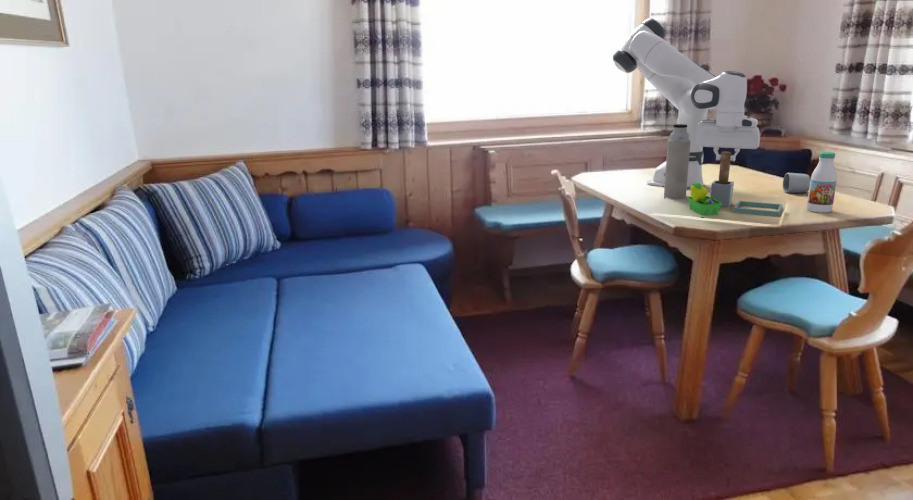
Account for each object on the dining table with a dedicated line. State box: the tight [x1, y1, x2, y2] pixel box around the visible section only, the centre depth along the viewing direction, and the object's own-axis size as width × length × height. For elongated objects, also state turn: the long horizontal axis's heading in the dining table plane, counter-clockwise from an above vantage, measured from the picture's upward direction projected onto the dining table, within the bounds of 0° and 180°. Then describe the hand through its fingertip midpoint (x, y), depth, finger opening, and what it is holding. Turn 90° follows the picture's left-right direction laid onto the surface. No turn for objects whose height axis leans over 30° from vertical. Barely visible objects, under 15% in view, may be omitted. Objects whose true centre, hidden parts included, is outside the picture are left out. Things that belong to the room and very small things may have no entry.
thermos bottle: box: [663, 123, 691, 200], centre depth 235 cm, size 8×8×28 cm
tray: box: [732, 200, 784, 217], centre depth 215 cm, size 14×12×2 cm
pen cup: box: [709, 179, 735, 208], centre depth 223 cm, size 6×6×9 cm
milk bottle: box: [806, 151, 838, 214], centre depth 214 cm, size 8×8×20 cm
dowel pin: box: [717, 151, 732, 184], centre depth 221 cm, size 3×3×13 cm
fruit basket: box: [687, 183, 722, 219], centre depth 215 cm, size 11×9×11 cm
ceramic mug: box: [782, 172, 811, 194], centre depth 245 cm, size 11×8×8 cm
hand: (725, 160), depth 220 cm, fingers closed on dowel pin, 3 cm apart
